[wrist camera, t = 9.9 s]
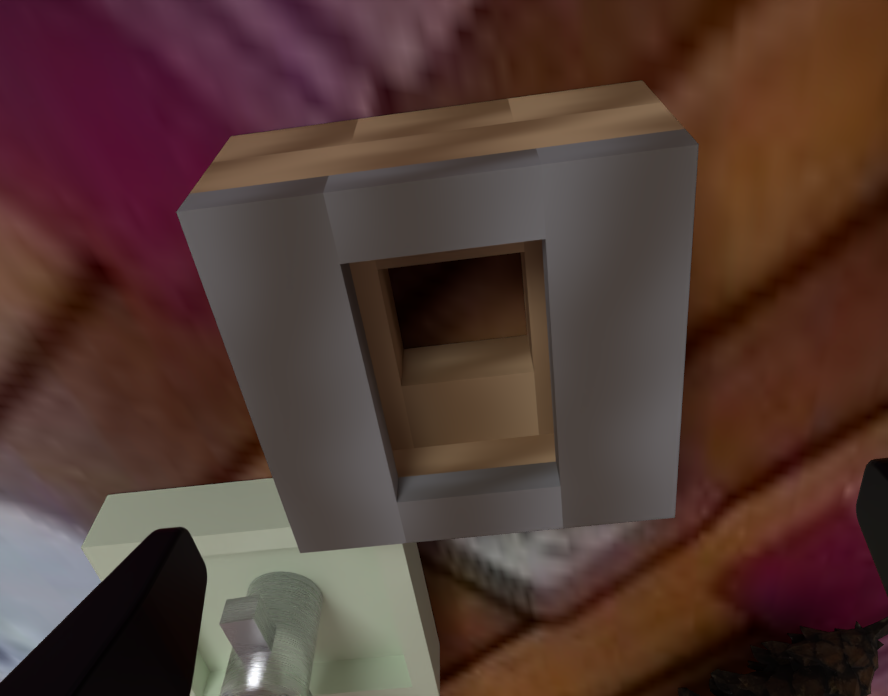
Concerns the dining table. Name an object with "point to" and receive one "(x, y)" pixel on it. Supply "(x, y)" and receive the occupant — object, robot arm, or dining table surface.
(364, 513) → the block
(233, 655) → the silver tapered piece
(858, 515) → the robot arm
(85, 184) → the dining table surface
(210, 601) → the tray
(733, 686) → the pine cone
